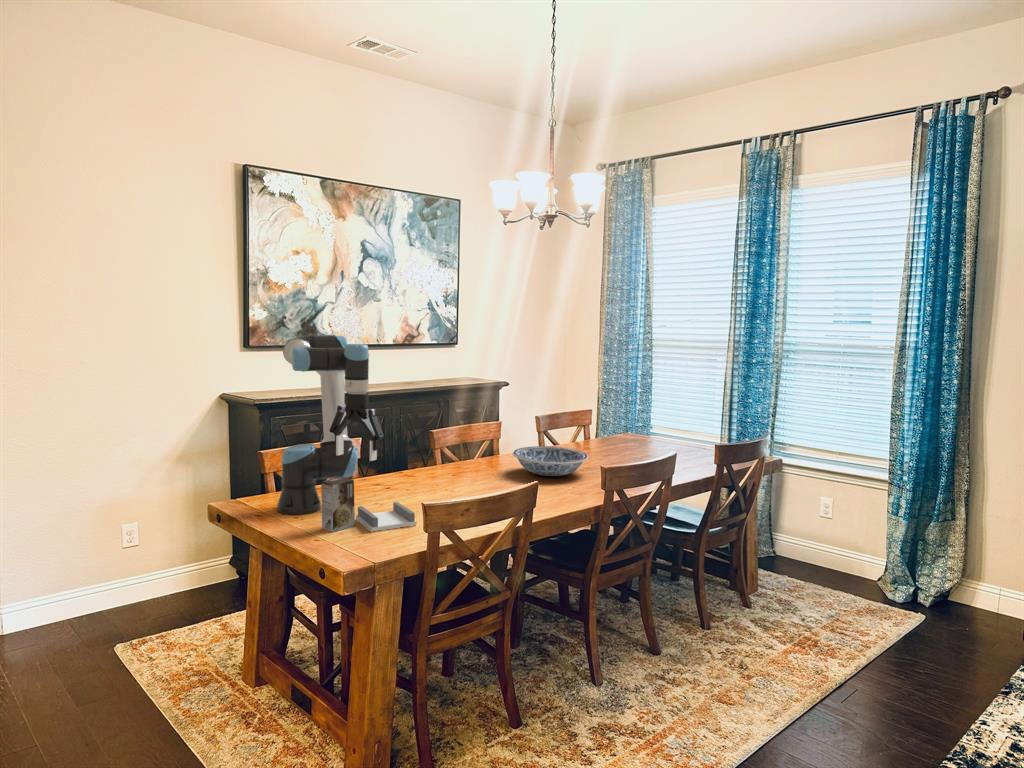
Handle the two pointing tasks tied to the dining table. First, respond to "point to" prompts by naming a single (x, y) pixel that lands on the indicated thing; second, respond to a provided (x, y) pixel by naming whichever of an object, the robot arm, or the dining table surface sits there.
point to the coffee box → (337, 504)
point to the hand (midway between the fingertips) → (356, 457)
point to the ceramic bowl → (550, 460)
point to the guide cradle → (386, 518)
